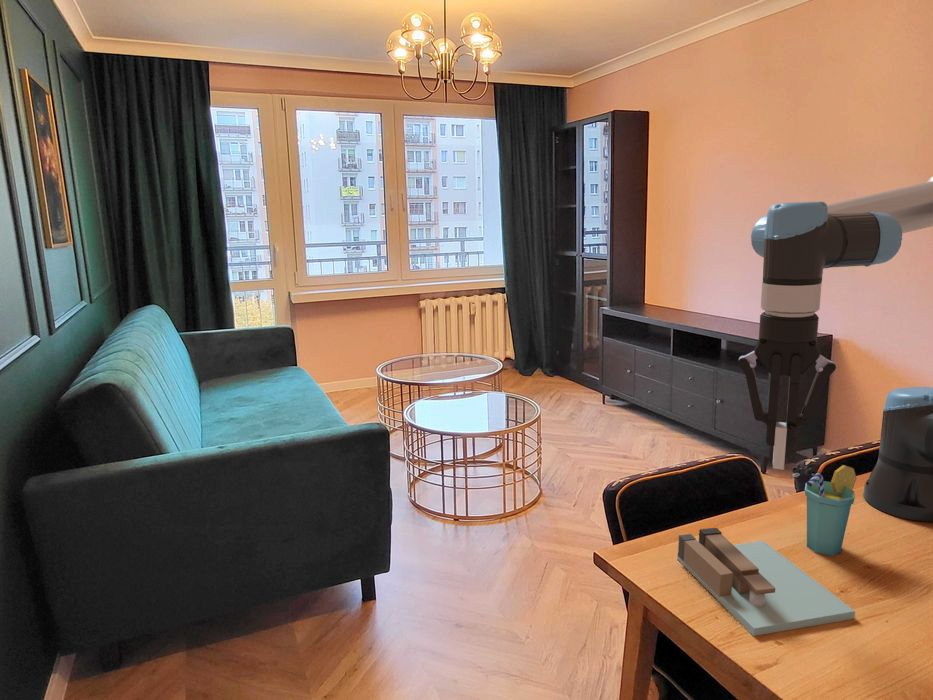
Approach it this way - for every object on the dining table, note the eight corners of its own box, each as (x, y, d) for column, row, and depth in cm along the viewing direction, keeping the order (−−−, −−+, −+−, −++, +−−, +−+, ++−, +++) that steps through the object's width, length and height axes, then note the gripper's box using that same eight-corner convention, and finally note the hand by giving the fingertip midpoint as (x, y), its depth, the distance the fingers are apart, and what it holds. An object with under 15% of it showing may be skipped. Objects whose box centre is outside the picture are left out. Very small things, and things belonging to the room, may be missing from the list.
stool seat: (762, 547, 108) (764, 520, 107) (854, 618, 89) (858, 587, 88) (674, 559, 105) (676, 532, 104) (750, 636, 86) (753, 604, 85)
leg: (774, 607, 89) (776, 583, 89) (754, 609, 89) (756, 585, 88) (715, 548, 105) (716, 527, 104) (698, 550, 105) (699, 529, 104)
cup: (825, 574, 100) (835, 486, 97) (777, 553, 106) (784, 470, 103) (863, 544, 108) (873, 463, 105) (816, 527, 114) (824, 449, 111)
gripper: (839, 309, 91) (825, 462, 96) (740, 306, 96) (732, 451, 101) (844, 318, 84) (829, 481, 89) (738, 315, 90) (730, 469, 95)
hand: (778, 465), depth 95 cm, fingers closed
